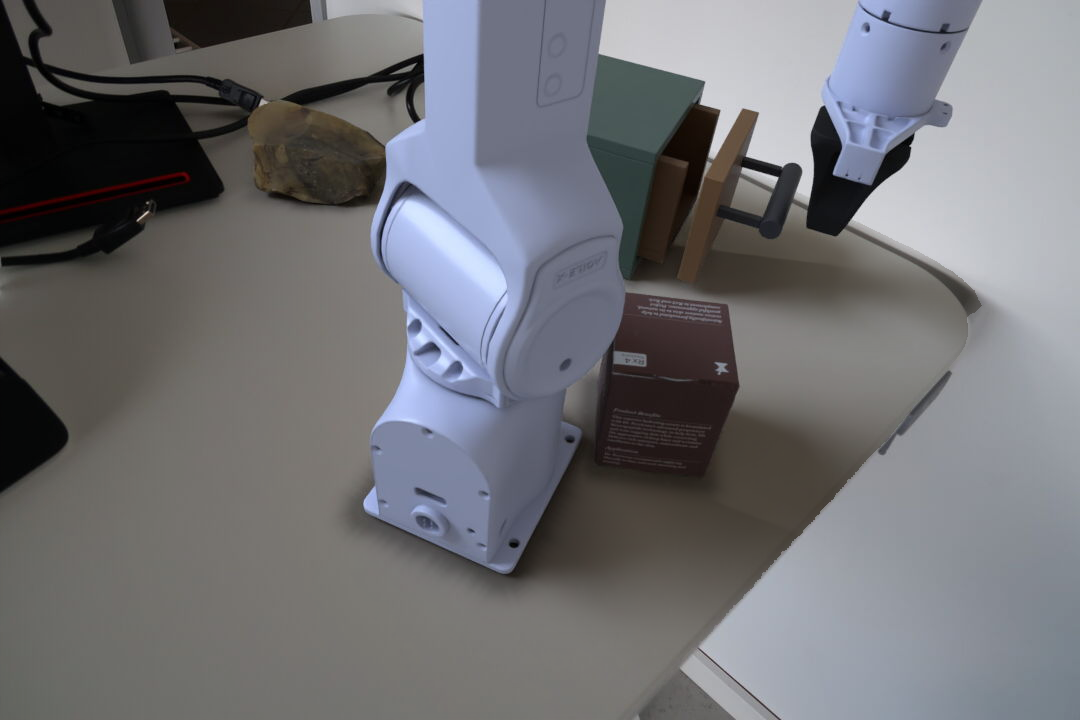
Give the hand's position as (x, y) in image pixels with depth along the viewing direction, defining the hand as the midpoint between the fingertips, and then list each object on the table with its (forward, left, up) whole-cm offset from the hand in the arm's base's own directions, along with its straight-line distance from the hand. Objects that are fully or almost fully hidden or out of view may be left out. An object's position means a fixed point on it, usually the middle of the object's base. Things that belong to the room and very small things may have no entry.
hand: (822, 227), depth 48 cm
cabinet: (0, +18, -5) cm, 18 cm away
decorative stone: (-5, +37, -5) cm, 37 cm away
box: (-18, +6, -5) cm, 19 cm away
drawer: (0, +11, -4) cm, 11 cm away
